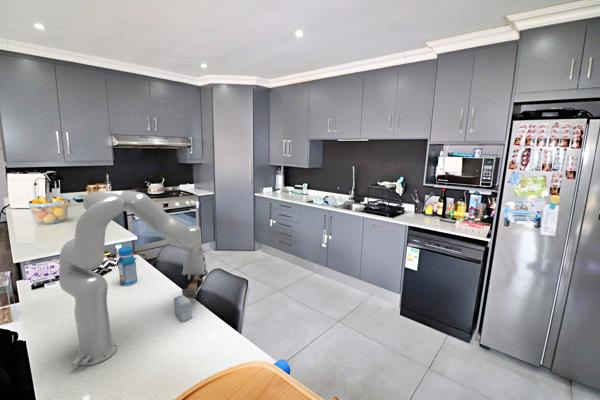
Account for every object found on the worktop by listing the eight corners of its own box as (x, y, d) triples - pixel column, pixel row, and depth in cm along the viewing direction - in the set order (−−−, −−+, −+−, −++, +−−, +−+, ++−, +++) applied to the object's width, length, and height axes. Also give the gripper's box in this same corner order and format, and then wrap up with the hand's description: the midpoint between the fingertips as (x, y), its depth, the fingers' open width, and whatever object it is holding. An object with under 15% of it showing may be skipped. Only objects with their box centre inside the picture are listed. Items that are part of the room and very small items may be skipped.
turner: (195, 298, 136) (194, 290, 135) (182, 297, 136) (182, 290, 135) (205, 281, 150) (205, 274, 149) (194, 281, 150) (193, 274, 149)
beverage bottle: (132, 286, 156) (128, 251, 152) (116, 286, 156) (112, 251, 152) (140, 279, 164) (137, 246, 160) (126, 279, 164) (122, 245, 160)
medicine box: (192, 318, 129) (191, 300, 127) (182, 322, 126) (181, 304, 124) (184, 311, 134) (183, 294, 132) (174, 315, 131) (173, 297, 129)
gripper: (212, 249, 144) (214, 283, 147) (180, 248, 144) (182, 282, 148) (207, 254, 137) (209, 290, 140) (173, 254, 137) (176, 289, 140)
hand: (195, 286), depth 144 cm, fingers closed on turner, 3 cm apart
